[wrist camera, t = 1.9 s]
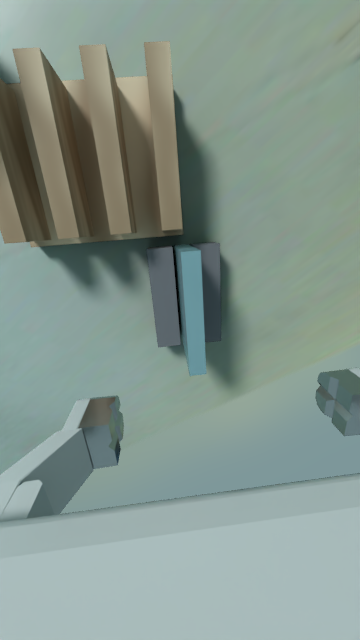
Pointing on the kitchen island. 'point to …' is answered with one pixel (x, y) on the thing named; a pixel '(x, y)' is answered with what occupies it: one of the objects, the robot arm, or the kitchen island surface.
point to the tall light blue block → (191, 306)
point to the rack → (89, 151)
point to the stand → (167, 298)
